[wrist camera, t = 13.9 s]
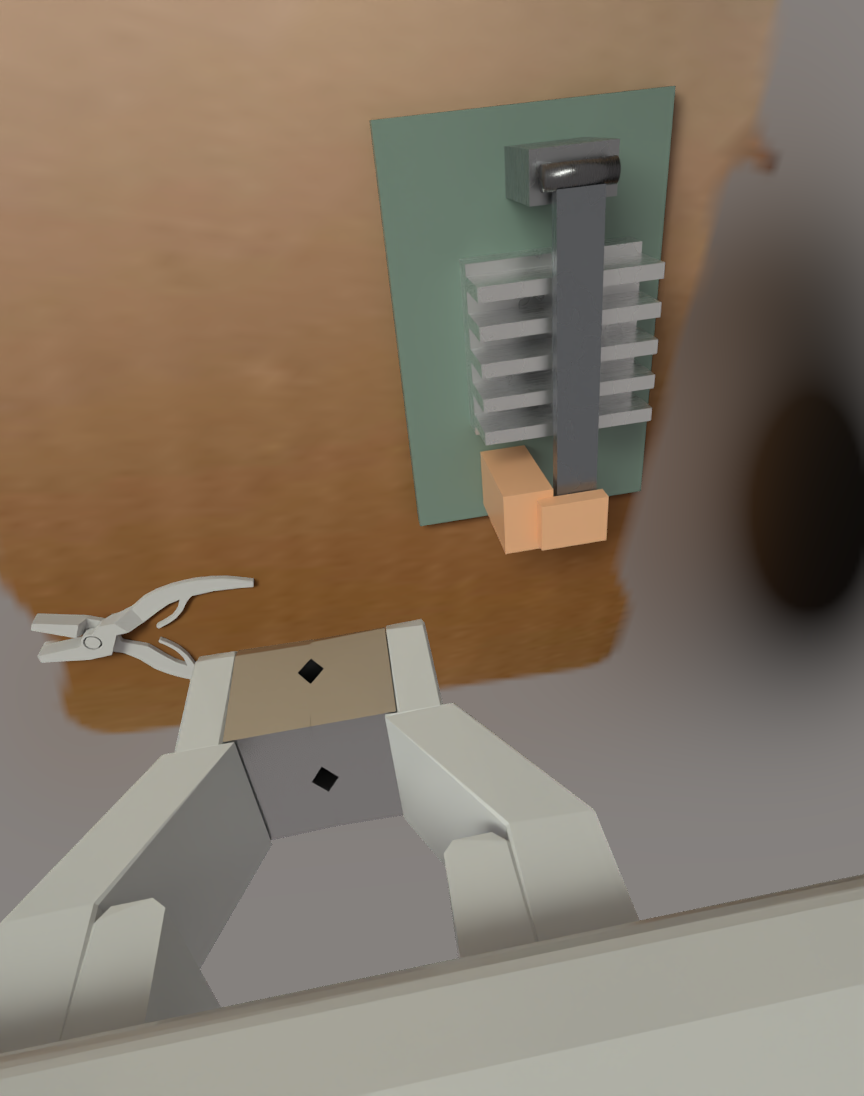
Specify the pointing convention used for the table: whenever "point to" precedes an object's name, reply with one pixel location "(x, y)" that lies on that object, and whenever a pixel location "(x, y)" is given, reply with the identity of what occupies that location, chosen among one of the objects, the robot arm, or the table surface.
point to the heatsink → (550, 316)
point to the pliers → (129, 627)
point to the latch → (537, 505)
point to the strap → (577, 313)
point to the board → (492, 228)
